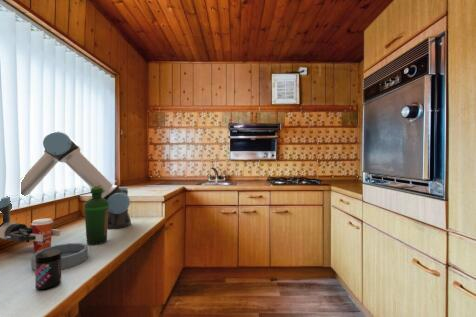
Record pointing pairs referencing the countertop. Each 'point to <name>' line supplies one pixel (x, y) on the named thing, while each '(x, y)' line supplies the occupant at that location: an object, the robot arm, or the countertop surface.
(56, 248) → the bowl
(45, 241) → the paper cup
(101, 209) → the bottle
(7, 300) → the countertop surface
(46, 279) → the supplement container
